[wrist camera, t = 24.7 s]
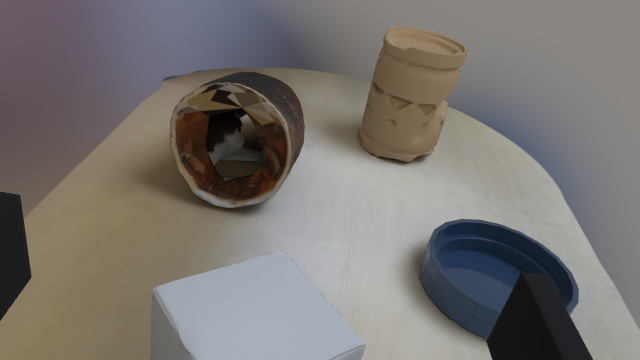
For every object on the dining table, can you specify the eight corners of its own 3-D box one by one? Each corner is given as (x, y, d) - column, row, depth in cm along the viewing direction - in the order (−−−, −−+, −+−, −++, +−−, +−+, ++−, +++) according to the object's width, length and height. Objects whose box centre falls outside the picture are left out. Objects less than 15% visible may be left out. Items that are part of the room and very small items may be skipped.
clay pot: (324, 61, 80) (299, 86, 56) (316, 157, 85) (290, 217, 61) (229, 52, 81) (165, 73, 57) (227, 148, 86) (167, 203, 62)
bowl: (592, 324, 57) (609, 297, 55) (490, 367, 49) (505, 338, 47) (488, 235, 69) (499, 210, 67) (391, 259, 61) (400, 231, 59)
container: (375, 165, 79) (406, 51, 70) (347, 127, 89) (371, 22, 80) (445, 165, 84) (484, 58, 75) (411, 129, 94) (442, 30, 84)
